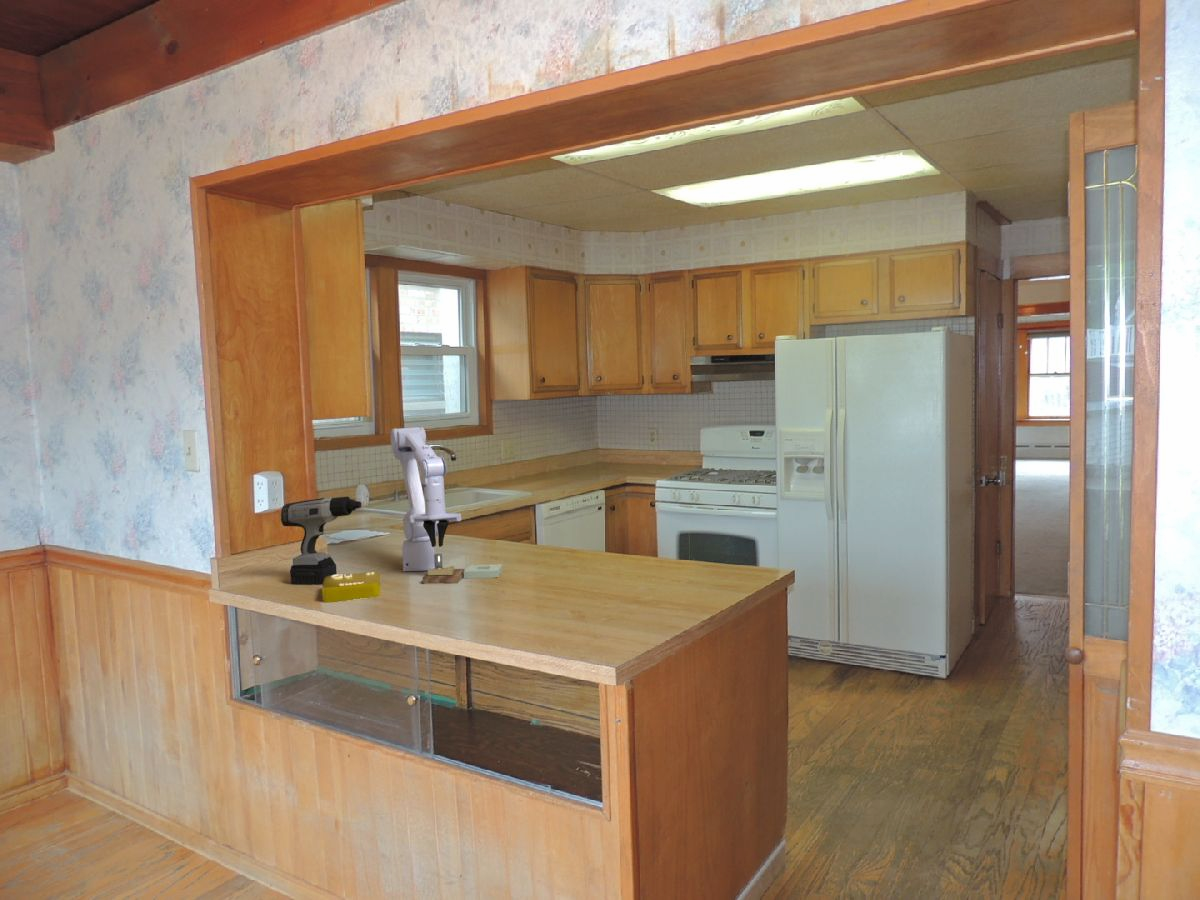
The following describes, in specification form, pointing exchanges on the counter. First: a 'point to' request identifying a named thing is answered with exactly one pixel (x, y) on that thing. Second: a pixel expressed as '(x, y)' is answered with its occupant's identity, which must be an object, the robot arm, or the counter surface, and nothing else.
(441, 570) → the bar
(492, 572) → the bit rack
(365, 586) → the element tile
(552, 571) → the counter surface
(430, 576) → the socket block
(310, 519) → the cordless drill
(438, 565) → the silver cylindrical rod
